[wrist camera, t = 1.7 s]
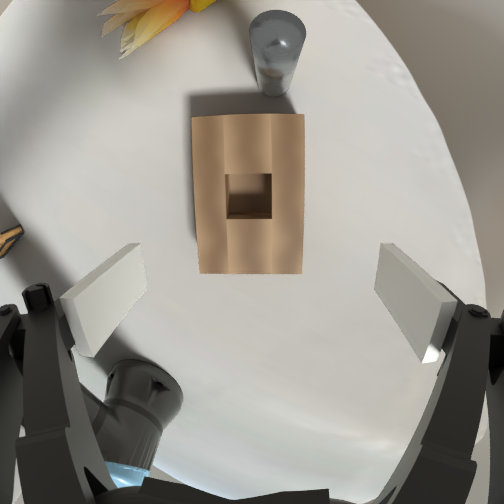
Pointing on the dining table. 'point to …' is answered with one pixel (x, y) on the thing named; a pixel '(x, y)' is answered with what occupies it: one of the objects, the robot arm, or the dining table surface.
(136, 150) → the dining table surface
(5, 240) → the ammunition clip
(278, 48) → the pin
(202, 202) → the bore block
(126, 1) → the torch
